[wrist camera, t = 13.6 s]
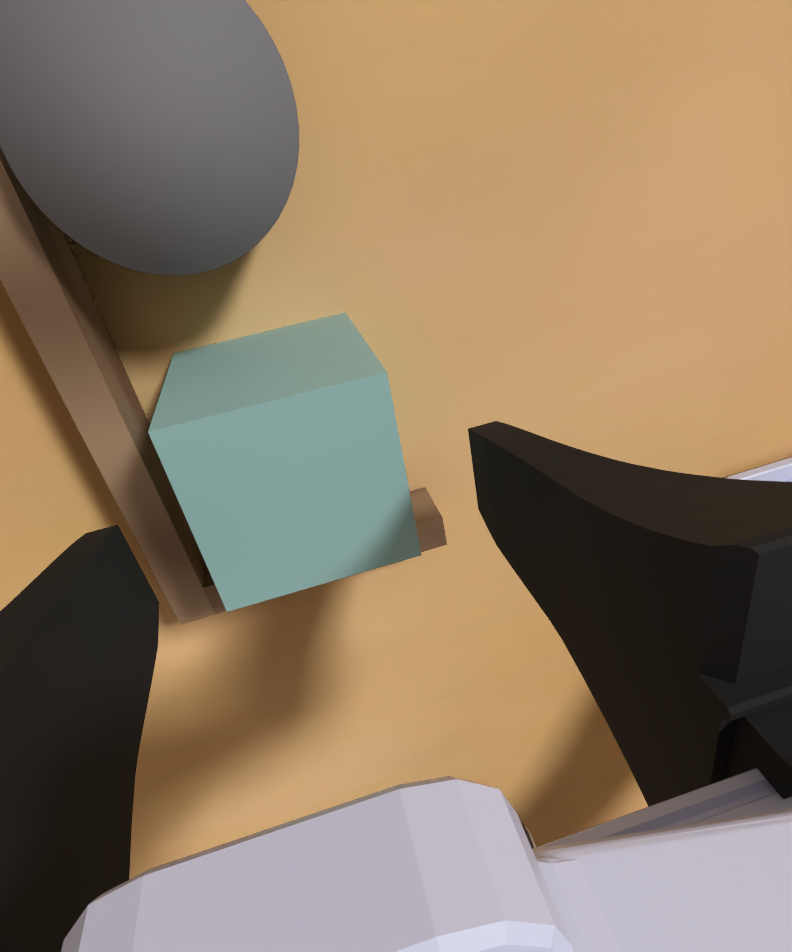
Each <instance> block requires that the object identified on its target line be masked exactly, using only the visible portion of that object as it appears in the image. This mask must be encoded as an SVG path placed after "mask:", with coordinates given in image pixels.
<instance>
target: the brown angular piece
mask: <svg viewBox="0 0 792 952" xmlns="http://www.w3.org/2000/svg"><path fill="white" fill-rule="evenodd" d="M0 281H1V283H2V285H3V286H4V288H5V290H6V292H7V294H8V296H9V298H10V300H11V302H12V304H13V306H14V308H15V309H16V311H17V313H18V315H19V317H20V319H21V321H22V323H23V325H24V327H25V329H26V330H27V332H28V334H29V336H30V338H31V340H32V342H33V344H34V346H35V348H36V350H37V352H38V353H39V355H40V357H41V359H42V361H43V363H44V365H45V367H46V369H47V371H48V373H49V375H50V376H51V378H52V380H53V382H54V384H55V386H56V388H57V390H58V392H59V394H60V396H61V397H62V399H63V401H64V403H65V405H66V407H67V409H68V411H69V413H70V415H71V417H72V419H73V420H74V422H75V424H76V426H77V428H78V430H79V432H80V434H81V436H82V438H83V440H84V441H85V443H86V445H87V447H88V449H89V451H90V453H91V455H92V457H93V459H94V461H95V463H96V464H97V466H98V468H99V470H100V472H101V474H102V476H103V478H104V480H105V482H106V484H107V486H108V487H109V489H110V491H111V493H112V495H113V497H114V499H115V501H116V503H117V505H118V507H119V508H120V510H121V512H122V514H123V516H124V518H125V520H126V522H127V524H128V526H129V528H130V530H131V531H132V533H133V535H134V537H135V539H136V541H137V543H138V545H139V547H140V549H141V551H142V552H143V554H144V556H145V558H146V560H147V562H148V564H149V566H150V568H151V570H152V572H153V574H154V575H155V577H156V579H157V581H158V583H159V585H160V587H161V589H162V591H163V593H164V595H165V597H166V598H167V600H168V602H169V604H170V606H171V608H172V610H173V612H174V614H175V616H176V618H177V619H178V621H179V623H180V624H184V623H187V622H190V621H194V620H197V619H200V618H204V617H207V616H210V615H214V614H217V613H220V612H224V611H226V608H225V606H224V604H223V602H222V599H221V597H220V595H219V592H218V590H217V588H216V586H215V583H214V581H213V579H212V577H211V574H210V572H209V570H208V567H207V565H206V563H205V561H204V558H203V556H202V554H201V551H200V549H199V547H198V545H197V542H196V540H195V538H194V536H193V533H192V531H191V529H190V526H189V524H188V522H187V520H186V517H185V515H184V513H183V510H182V508H181V506H180V504H179V501H178V499H177V497H176V495H175V492H174V490H173V488H172V485H171V483H170V481H169V479H168V476H167V474H166V472H165V470H164V467H163V465H162V463H161V460H160V458H159V456H158V454H157V451H156V449H155V447H154V444H153V442H152V440H151V438H150V435H149V433H148V430H149V427H150V425H149V422H148V420H147V418H146V416H145V414H144V411H143V409H142V407H141V405H140V402H139V400H138V398H137V396H136V394H135V391H134V389H133V387H132V385H131V382H130V380H129V378H128V376H127V373H126V371H125V369H124V367H123V365H122V362H121V360H120V358H119V356H118V353H117V351H116V349H115V347H114V344H113V342H112V340H111V338H110V336H109V333H108V331H107V329H106V327H105V324H104V322H103V320H102V318H101V315H100V313H99V311H98V309H97V307H96V304H95V302H94V300H93V298H92V295H91V293H90V291H89V289H88V286H87V284H86V282H85V280H84V278H83V275H82V273H81V271H80V269H79V266H78V264H77V262H76V260H75V257H74V255H73V253H72V251H71V249H70V246H69V244H68V242H67V240H66V237H65V235H64V233H63V231H62V230H61V229H59V228H58V227H57V226H56V225H55V224H54V223H53V222H52V221H51V220H50V219H49V218H48V217H47V216H46V215H45V214H44V213H43V212H42V211H41V210H40V209H39V208H38V206H37V205H36V204H35V203H34V201H33V200H32V199H31V197H30V196H29V195H28V194H27V192H26V191H25V190H24V188H23V187H22V185H21V184H20V182H19V180H18V179H17V177H16V176H15V174H14V172H13V171H12V169H11V167H10V165H9V163H8V161H7V159H6V157H5V155H4V153H3V151H2V149H1V146H0ZM410 497H411V502H412V508H413V513H414V518H415V524H416V529H417V534H418V540H419V545H420V550H421V552H423V551H427V550H430V549H433V548H436V547H440V546H443V545H446V544H447V543H446V537H445V531H444V525H443V519H442V516H441V514H440V513H439V511H438V509H437V507H436V506H435V504H434V502H433V500H432V499H431V497H430V495H429V493H428V492H427V490H426V488H421V489H418V490H414V491H411V492H410Z"/></svg>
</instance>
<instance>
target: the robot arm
mask: <svg viewBox="0 0 792 952" xmlns="http://www.w3.org/2000/svg"><path fill="white" fill-rule="evenodd" d="M468 432H469V440H470V447H471V455H472V463H473V470H474V478H475V486H476V493H477V501H478V509H479V511H480V513H481V515H482V517H483V519H484V521H485V523H486V525H487V527H488V529H489V531H490V533H491V535H492V537H493V539H494V541H495V543H496V545H497V546H498V548H499V549H500V551H501V552H502V554H503V555H504V556H505V558H506V559H507V561H508V562H509V564H510V565H511V566H512V568H513V569H514V571H515V572H516V574H517V575H518V576H519V578H520V579H521V581H522V582H523V583H524V585H525V586H526V588H527V589H528V590H529V592H530V593H531V595H532V596H533V597H534V599H535V600H536V602H537V603H538V604H539V606H540V607H541V609H542V610H543V611H544V613H545V614H546V616H547V617H548V618H549V620H550V621H551V623H552V624H553V626H554V627H555V629H556V631H557V632H558V634H559V635H560V637H561V638H562V640H563V642H564V644H565V645H566V647H567V649H568V651H569V653H570V654H571V656H572V658H573V660H574V662H575V663H576V665H577V667H578V669H579V671H580V672H581V674H582V676H583V678H584V680H585V682H586V684H587V685H588V687H589V689H590V691H591V693H592V695H593V697H594V699H595V701H596V702H597V704H598V706H599V708H600V710H601V712H602V714H603V716H604V718H605V719H606V721H607V723H608V725H609V727H610V729H611V731H612V733H613V735H614V737H615V739H616V741H617V743H618V745H619V747H620V749H621V751H622V753H623V755H624V757H625V759H626V761H627V763H628V765H629V767H630V769H631V771H632V773H633V775H634V777H635V779H636V781H637V783H638V785H639V788H640V790H641V792H642V794H643V796H644V798H645V800H646V802H647V804H648V806H649V807H647V808H644V809H641V810H638V811H635V812H633V813H630V814H627V815H624V816H621V817H619V818H616V819H613V820H610V821H608V822H605V823H602V824H599V825H596V826H594V827H591V828H588V829H585V830H583V831H580V832H577V833H574V834H571V835H569V836H566V837H563V838H560V839H557V840H555V841H552V842H549V843H546V844H544V845H541V846H538V847H535V848H531V846H530V843H529V841H528V839H527V836H526V834H525V831H524V829H523V827H522V824H521V822H520V819H519V817H518V815H517V813H516V812H515V810H514V809H513V807H512V806H511V804H510V803H509V802H508V800H507V799H506V797H505V796H504V795H503V793H502V792H501V790H500V789H498V788H494V787H491V786H488V785H484V784H480V783H476V782H472V781H467V780H463V779H459V778H455V777H450V776H448V777H442V778H436V779H430V780H424V781H418V782H412V783H406V784H401V785H397V786H394V787H391V788H388V789H385V790H382V791H379V792H376V793H373V794H370V795H367V796H364V797H361V798H358V799H355V800H352V801H349V802H347V803H344V804H341V805H338V806H335V807H332V808H329V809H326V810H323V811H320V812H317V813H314V814H311V815H308V816H305V817H302V818H299V819H296V820H293V821H290V822H287V823H284V824H281V825H278V826H275V827H273V828H270V829H267V830H264V831H261V832H258V833H255V834H252V835H249V836H246V837H243V838H240V839H237V840H234V841H231V842H228V843H225V844H222V845H219V846H216V847H213V848H210V849H207V850H204V851H202V852H199V853H196V854H193V855H190V856H187V857H184V858H181V859H178V860H175V861H172V862H169V863H166V864H163V865H160V866H157V867H154V868H151V869H149V870H147V871H145V872H143V873H141V874H139V875H137V876H135V877H134V878H132V879H130V880H129V870H130V847H131V825H132V811H133V797H134V783H135V772H136V765H137V758H138V751H139V746H140V740H141V735H142V730H143V724H144V719H145V714H146V708H147V703H148V698H149V693H150V687H151V682H152V676H153V671H154V665H155V660H156V654H157V648H158V628H159V602H158V600H157V598H156V596H155V594H154V592H153V590H152V588H151V587H150V585H149V583H148V581H147V579H146V577H145V575H144V573H143V572H142V570H141V568H140V566H139V564H138V562H137V560H136V558H135V556H134V555H133V553H132V551H131V549H130V547H129V545H128V543H127V541H126V540H125V538H124V536H123V534H122V532H121V530H120V528H119V526H118V525H115V526H111V527H108V528H104V529H100V530H97V531H93V532H89V533H86V534H85V535H83V536H82V537H80V538H79V539H78V540H77V541H75V542H74V543H73V544H72V545H71V546H70V547H68V548H67V549H66V550H65V551H64V552H63V553H62V554H61V555H60V556H59V557H58V558H56V559H55V560H54V561H53V562H52V563H51V564H50V565H49V566H48V567H47V568H46V569H45V570H44V571H43V572H42V573H41V574H40V575H39V576H38V577H37V578H35V579H34V580H33V581H32V582H31V583H30V584H29V585H28V586H27V587H26V588H25V589H24V590H23V591H22V592H21V593H20V594H19V595H18V596H17V597H16V598H14V599H13V600H12V601H11V602H10V603H9V604H8V605H7V606H6V607H5V608H3V609H2V610H1V611H0V952H792V457H791V458H788V459H785V460H781V461H778V462H775V463H771V464H768V465H765V466H762V467H758V468H755V469H752V470H748V471H745V472H742V473H739V474H735V475H732V476H729V477H727V478H717V477H709V476H701V475H692V474H684V473H677V472H671V471H665V470H659V469H654V468H649V467H644V466H639V465H634V464H630V463H626V462H621V461H617V460H613V459H610V458H606V457H603V456H599V455H596V454H592V453H589V452H585V451H582V450H579V449H576V448H573V447H570V446H567V445H564V444H561V443H558V442H555V441H552V440H550V439H547V438H544V437H541V436H539V435H536V434H533V433H530V432H528V431H525V430H522V429H519V428H517V427H514V426H511V425H508V424H505V423H501V422H497V421H495V422H491V423H487V424H484V425H480V426H476V427H473V428H469V429H468Z"/></svg>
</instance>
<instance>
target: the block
mask: <svg viewBox="0 0 792 952" xmlns="http://www.w3.org/2000/svg"><path fill="white" fill-rule="evenodd" d="M148 433H149V435H150V438H151V440H152V442H153V444H154V447H155V449H156V451H157V454H158V456H159V458H160V460H161V463H162V465H163V467H164V470H165V472H166V474H167V476H168V479H169V481H170V483H171V485H172V488H173V490H174V492H175V495H176V497H177V499H178V501H179V504H180V506H181V508H182V510H183V513H184V515H185V517H186V520H187V522H188V524H189V526H190V529H191V531H192V533H193V536H194V538H195V540H196V542H197V545H198V547H199V549H200V551H201V554H202V556H203V558H204V561H205V563H206V565H207V567H208V570H209V572H210V574H211V577H212V579H213V581H214V583H215V586H216V588H217V590H218V592H219V595H220V597H221V599H222V602H223V604H224V606H225V608H226V611H227V612H229V611H232V610H235V609H239V608H242V607H246V606H249V605H253V604H256V603H259V602H263V601H266V600H270V599H273V598H276V597H280V596H283V595H287V594H290V593H294V592H297V591H300V590H304V589H307V588H311V587H314V586H317V585H321V584H324V583H328V582H331V581H334V580H338V579H341V578H345V577H348V576H352V575H355V574H358V573H362V572H365V571H369V570H372V569H375V568H379V567H382V566H386V565H389V564H393V563H396V562H399V561H403V560H406V559H410V558H413V557H416V556H420V555H421V550H420V545H419V540H418V534H417V529H416V524H415V518H414V513H413V508H412V502H411V497H410V492H409V487H408V481H407V476H406V471H405V465H404V460H403V455H402V449H401V444H400V439H399V433H398V428H397V423H396V418H395V412H394V407H393V402H392V396H391V391H390V386H389V380H388V375H387V371H386V370H385V368H384V367H383V366H382V364H381V363H380V361H379V360H378V358H377V357H376V356H375V354H374V353H373V351H372V350H371V348H370V347H369V346H368V344H367V343H366V341H365V340H364V338H363V337H362V336H361V334H360V333H359V331H358V330H357V328H356V327H355V326H354V324H353V323H352V321H351V320H350V318H349V317H348V315H347V314H346V313H341V314H337V315H333V316H329V317H325V318H320V319H316V320H312V321H308V322H303V323H299V324H295V325H291V326H286V327H282V328H278V329H274V330H270V331H265V332H261V333H257V334H253V335H248V336H244V337H240V338H236V339H232V340H227V341H223V342H219V343H215V344H210V345H206V346H202V347H198V348H193V349H189V350H185V351H181V352H177V353H174V354H173V357H172V360H171V363H170V366H169V369H168V372H167V375H166V378H165V381H164V384H163V387H162V391H161V394H160V397H159V400H158V403H157V406H156V409H155V412H154V415H153V418H152V421H151V424H150V427H149V430H148Z"/></svg>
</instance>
